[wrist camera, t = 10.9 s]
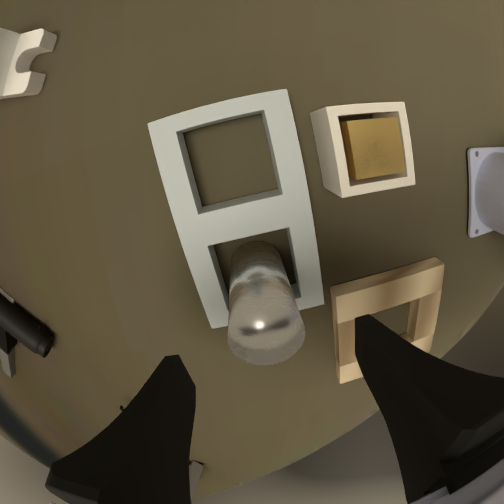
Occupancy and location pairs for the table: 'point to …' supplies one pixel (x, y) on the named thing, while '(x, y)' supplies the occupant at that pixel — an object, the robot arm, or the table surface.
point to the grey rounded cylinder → (262, 307)
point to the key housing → (334, 154)
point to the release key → (372, 147)
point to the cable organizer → (22, 61)
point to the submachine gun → (19, 333)
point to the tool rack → (240, 199)
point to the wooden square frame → (384, 297)
